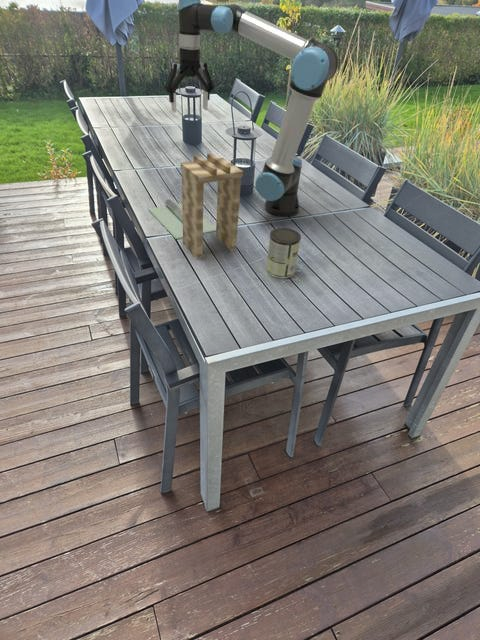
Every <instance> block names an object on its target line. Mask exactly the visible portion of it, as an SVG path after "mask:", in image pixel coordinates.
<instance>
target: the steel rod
mask: <svg viewBox="0 0 480 640" xmlns="http://www.w3.org/2000/svg"><path fill="white" fill-rule="evenodd" d="M164 203H165V206H168V207H169V208H170V209H171V210H172V211H173V212H174V213H175V214H176V215H177V216H178V217H179V218H180V219H181V220H182V221H183V211H182V210H181V209H180V208H179V207H178V206H177V205H176V204H177V203H175V202H174V201H172V199H170V198H169V199H166V200H165V202H164Z"/></svg>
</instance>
